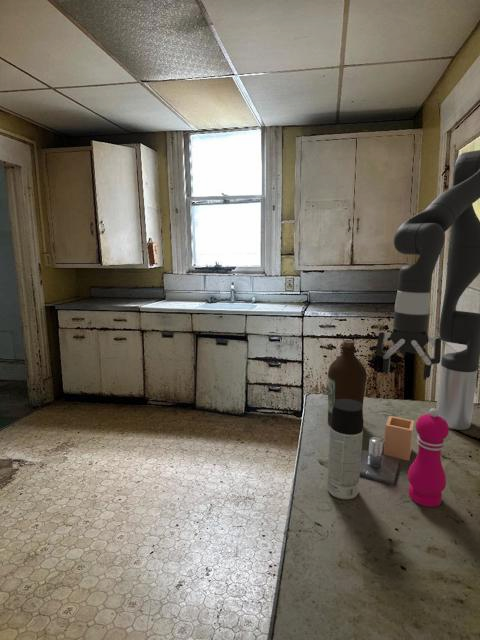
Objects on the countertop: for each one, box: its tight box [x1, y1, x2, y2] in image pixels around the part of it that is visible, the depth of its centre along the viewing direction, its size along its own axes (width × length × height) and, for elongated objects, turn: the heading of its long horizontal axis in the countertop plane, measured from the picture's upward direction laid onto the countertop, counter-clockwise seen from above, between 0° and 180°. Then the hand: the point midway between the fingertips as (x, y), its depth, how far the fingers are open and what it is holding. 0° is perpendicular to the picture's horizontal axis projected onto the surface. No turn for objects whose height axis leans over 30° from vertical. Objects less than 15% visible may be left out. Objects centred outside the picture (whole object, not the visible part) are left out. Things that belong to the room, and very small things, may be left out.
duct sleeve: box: [382, 415, 415, 462], centre depth 100 cm, size 6×6×8 cm
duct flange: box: [360, 436, 401, 485], centre depth 94 cm, size 10×10×7 cm
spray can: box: [326, 399, 365, 500], centre depth 83 cm, size 7×7×20 cm
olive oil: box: [327, 339, 367, 426], centre depth 114 cm, size 11×11×25 cm
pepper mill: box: [407, 407, 450, 508], centre depth 81 cm, size 7×7×20 cm
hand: (405, 375), depth 97 cm, fingers open, 8 cm apart
